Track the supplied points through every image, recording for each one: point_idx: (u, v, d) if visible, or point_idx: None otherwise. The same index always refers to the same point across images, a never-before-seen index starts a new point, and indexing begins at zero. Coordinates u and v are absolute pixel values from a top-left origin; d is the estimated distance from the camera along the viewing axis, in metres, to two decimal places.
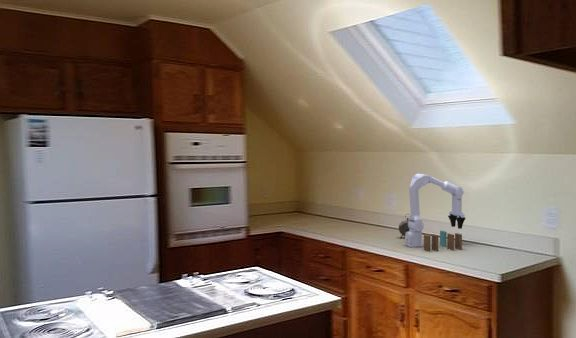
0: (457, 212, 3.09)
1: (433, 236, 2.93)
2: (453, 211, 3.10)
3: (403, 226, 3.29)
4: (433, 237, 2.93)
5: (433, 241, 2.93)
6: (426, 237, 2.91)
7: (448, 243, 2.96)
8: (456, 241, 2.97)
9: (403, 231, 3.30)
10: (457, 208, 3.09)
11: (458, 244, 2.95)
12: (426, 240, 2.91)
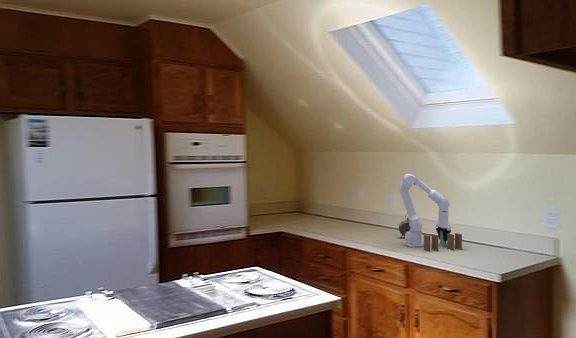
0: (443, 224, 3.03)
1: (433, 236, 2.93)
2: (439, 223, 3.04)
3: (403, 226, 3.29)
4: (433, 237, 2.93)
5: (433, 241, 2.93)
6: (426, 237, 2.91)
7: (448, 243, 2.96)
8: (456, 241, 2.97)
9: (403, 231, 3.30)
10: (443, 220, 3.03)
11: (458, 244, 2.95)
12: (426, 240, 2.91)
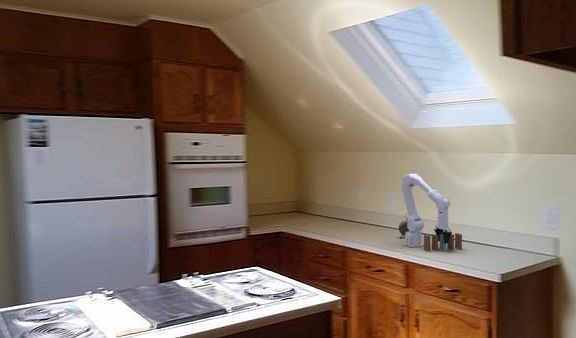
0: (443, 226, 2.91)
1: (433, 236, 2.93)
2: (439, 225, 2.93)
3: (403, 226, 3.29)
4: (433, 237, 2.93)
5: (433, 241, 2.93)
6: (426, 237, 2.91)
7: (448, 243, 2.96)
8: (456, 241, 2.97)
9: (403, 231, 3.30)
10: (443, 222, 2.91)
11: (458, 244, 2.95)
12: (426, 240, 2.91)
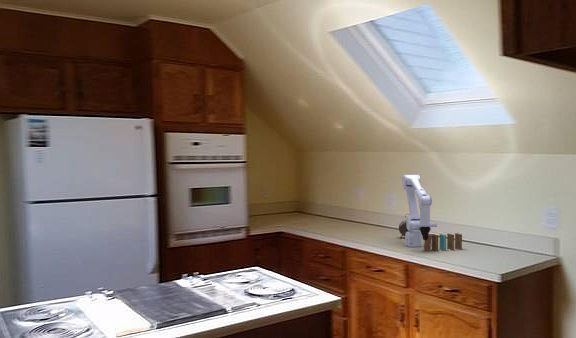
0: (419, 222, 2.92)
1: (433, 236, 2.93)
2: None
3: (403, 226, 3.29)
4: (433, 237, 2.93)
5: (433, 241, 2.93)
6: (427, 237, 2.91)
7: (448, 243, 2.96)
8: (456, 241, 2.97)
9: (403, 231, 3.30)
10: (419, 218, 2.92)
11: (458, 244, 2.95)
12: (427, 240, 2.91)
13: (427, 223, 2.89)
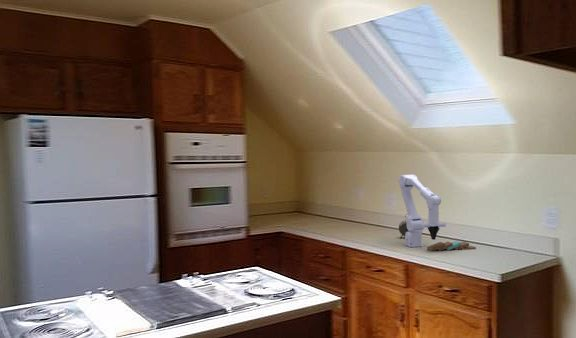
0: (428, 222, 2.93)
1: (448, 242, 2.95)
2: None
3: (403, 226, 3.29)
4: (447, 243, 2.95)
5: None
6: (441, 243, 2.93)
7: None
8: None
9: (403, 231, 3.30)
10: (428, 218, 2.93)
11: (465, 247, 2.96)
12: (438, 244, 2.93)
13: (436, 223, 2.90)
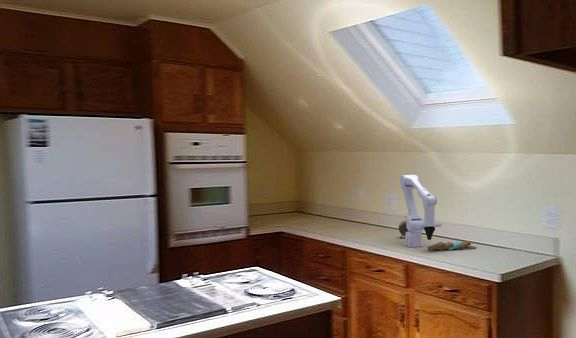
0: (424, 222, 2.92)
1: (449, 242, 2.95)
2: None
3: (403, 226, 3.29)
4: (448, 243, 2.95)
5: (445, 244, 2.95)
6: (441, 243, 2.93)
7: None
8: None
9: (403, 231, 3.30)
10: (424, 218, 2.92)
11: (466, 247, 2.96)
12: (439, 244, 2.93)
13: (432, 223, 2.89)
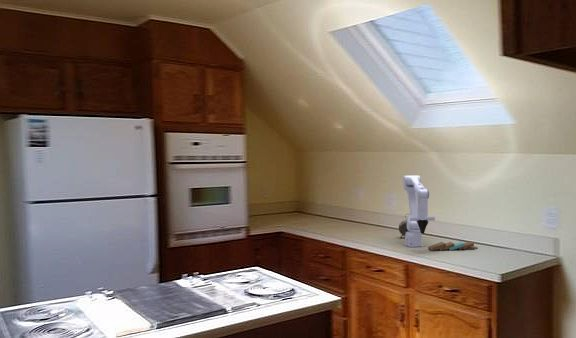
0: (417, 216, 2.92)
1: (450, 243, 2.95)
2: None
3: (403, 226, 3.29)
4: (449, 243, 2.95)
5: None
6: (442, 243, 2.94)
7: None
8: None
9: (403, 231, 3.30)
10: (417, 211, 2.91)
11: None
12: (439, 244, 2.93)
13: (425, 216, 2.88)
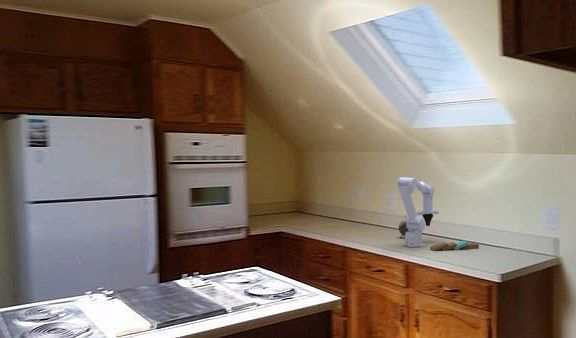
0: (423, 210, 3.17)
1: (452, 243, 2.96)
2: None
3: (403, 226, 3.29)
4: (451, 243, 2.96)
5: (448, 244, 2.96)
6: (444, 243, 2.94)
7: None
8: None
9: (403, 231, 3.30)
10: (423, 206, 3.17)
11: None
12: (441, 244, 2.94)
13: (430, 210, 3.14)
